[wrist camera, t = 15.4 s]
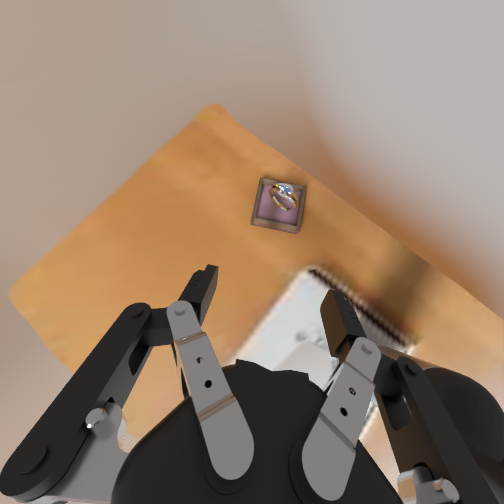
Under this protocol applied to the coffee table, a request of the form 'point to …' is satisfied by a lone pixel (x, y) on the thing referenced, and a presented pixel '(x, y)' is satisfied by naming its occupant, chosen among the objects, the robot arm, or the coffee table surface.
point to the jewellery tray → (270, 214)
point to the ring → (284, 196)
